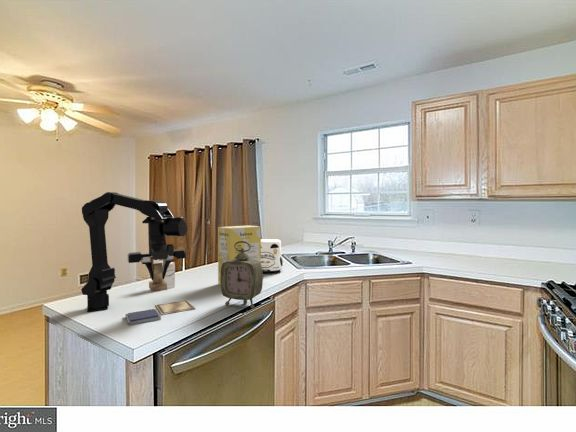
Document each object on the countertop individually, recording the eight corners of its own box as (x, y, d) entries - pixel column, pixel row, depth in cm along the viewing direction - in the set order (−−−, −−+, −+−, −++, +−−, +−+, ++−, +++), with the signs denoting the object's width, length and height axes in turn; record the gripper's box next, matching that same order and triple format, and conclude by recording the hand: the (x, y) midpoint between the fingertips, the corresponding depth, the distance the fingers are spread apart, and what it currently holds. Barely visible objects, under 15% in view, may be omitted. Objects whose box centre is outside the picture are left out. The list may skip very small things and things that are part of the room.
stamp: (151, 291, 109) (151, 266, 109) (149, 287, 115) (148, 262, 115) (167, 289, 112) (166, 264, 112) (163, 285, 118) (163, 261, 118)
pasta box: (248, 278, 168) (248, 225, 167) (260, 281, 161) (260, 226, 160) (218, 284, 156) (217, 227, 155) (230, 288, 148) (230, 228, 147)
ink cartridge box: (159, 291, 143) (158, 258, 142) (152, 289, 146) (152, 257, 145) (175, 287, 150) (175, 256, 149) (169, 285, 153) (168, 255, 152)
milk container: (260, 275, 174) (260, 243, 173) (248, 270, 189) (248, 239, 188) (288, 272, 182) (288, 241, 182) (274, 267, 198) (274, 238, 197)
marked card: (161, 315, 112) (161, 313, 112) (155, 305, 122) (155, 304, 122) (195, 309, 119) (195, 308, 119) (187, 300, 129) (187, 299, 129)
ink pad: (128, 325, 103) (127, 321, 102) (125, 316, 110) (125, 312, 110) (160, 319, 108) (160, 315, 108) (156, 311, 115) (156, 308, 115)
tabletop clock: (220, 306, 121) (220, 241, 120) (232, 299, 130) (231, 239, 129) (255, 310, 117) (254, 243, 116) (264, 303, 125) (264, 240, 124)
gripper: (129, 239, 101) (130, 288, 102) (189, 236, 111) (189, 281, 111) (127, 236, 111) (128, 281, 111) (182, 234, 120) (182, 275, 121)
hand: (157, 279), depth 113 cm, fingers closed on stamp, 3 cm apart
